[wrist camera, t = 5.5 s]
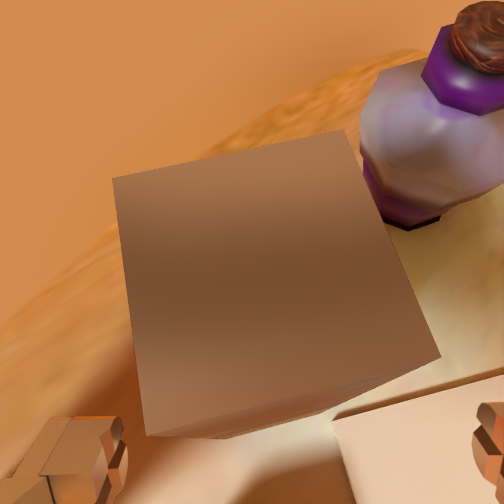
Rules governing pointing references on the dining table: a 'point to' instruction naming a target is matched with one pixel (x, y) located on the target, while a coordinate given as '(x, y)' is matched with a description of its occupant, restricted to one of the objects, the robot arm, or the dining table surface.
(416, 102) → the potion bottle
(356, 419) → the white square plate
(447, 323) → the dining table surface
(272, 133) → the dining table surface
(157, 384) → the walnut block
